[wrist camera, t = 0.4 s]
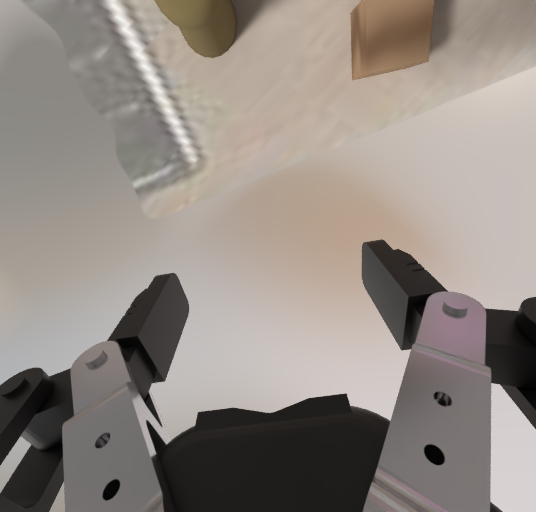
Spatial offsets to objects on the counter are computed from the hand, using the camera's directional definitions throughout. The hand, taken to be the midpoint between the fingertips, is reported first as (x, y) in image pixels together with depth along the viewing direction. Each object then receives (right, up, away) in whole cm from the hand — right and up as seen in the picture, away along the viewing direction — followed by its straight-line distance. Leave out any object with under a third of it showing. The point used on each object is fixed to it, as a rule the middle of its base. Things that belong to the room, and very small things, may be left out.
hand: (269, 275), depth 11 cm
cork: (-6, +26, +16) cm, 31 cm away
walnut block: (+12, +25, +17) cm, 32 cm away
